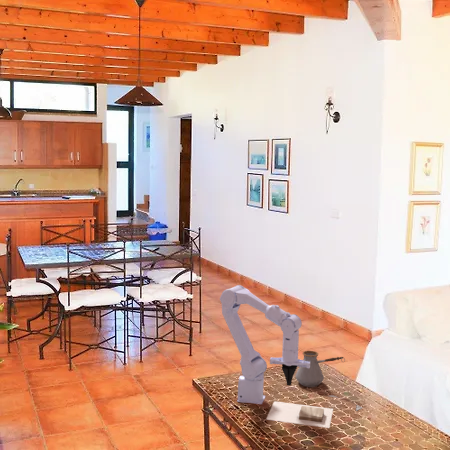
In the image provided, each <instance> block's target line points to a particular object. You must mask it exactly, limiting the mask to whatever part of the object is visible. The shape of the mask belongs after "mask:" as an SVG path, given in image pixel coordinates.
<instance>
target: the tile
mask: <svg viewBox="0 0 450 450" xmlns="http://www.w3.org/2000/svg"><path fill="white" fill-rule="evenodd" d="M323 415H324V409H322V408H314V407H306V406H302V407H301V410H300V413H299V419H300V420H307V421H315V422H322V419H323Z"/></svg>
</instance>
